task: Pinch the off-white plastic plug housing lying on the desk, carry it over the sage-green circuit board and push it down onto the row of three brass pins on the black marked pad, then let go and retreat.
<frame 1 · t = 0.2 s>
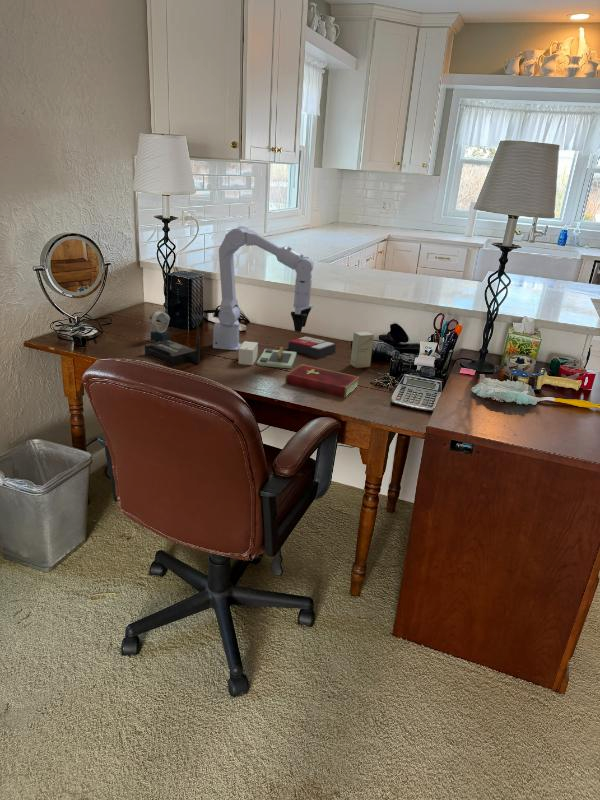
hand: (299, 329, 205), 10 cm above the table, tool pointing down, fingers open, 7 cm apart
calculator: (311, 352, 215), on the table
plug housing: (248, 360, 199), on the table
pcb board: (277, 359, 202), on the table
skincare box: (360, 366, 203), on the table
grey and black stand: (174, 360, 196), on the table
watch: (160, 340, 214), on the table
hardcover book: (321, 387, 182), on the table
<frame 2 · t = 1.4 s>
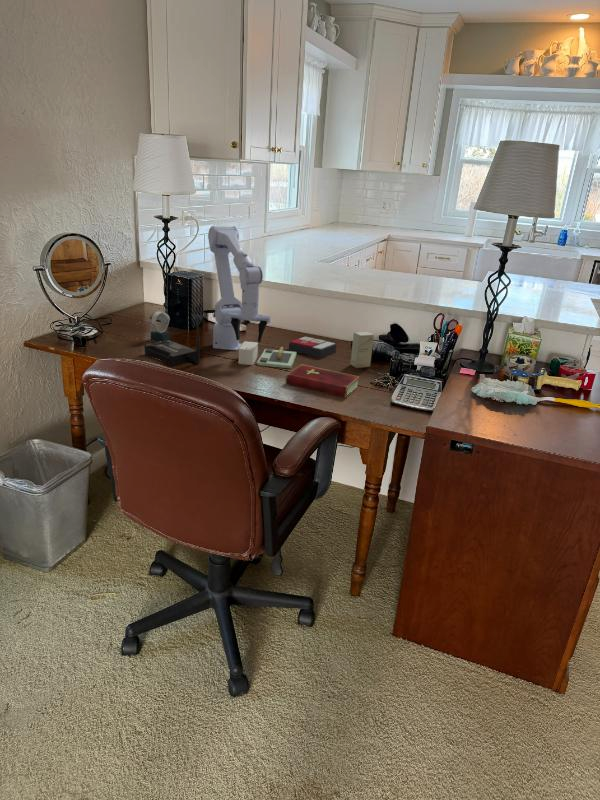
hand: (248, 340, 196), 7 cm above the table, tool pointing down, fingers open, 7 cm apart
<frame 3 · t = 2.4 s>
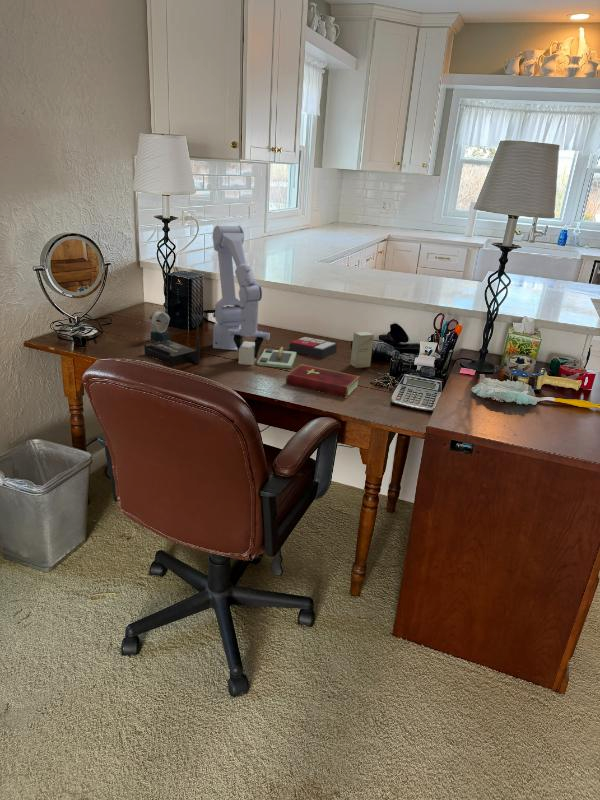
hand: (248, 356, 199), 1 cm above the table, tool pointing down, fingers closed on plug housing, 5 cm apart
plug housing: (248, 360, 199), on the table, touching gripper
everything else where it was.
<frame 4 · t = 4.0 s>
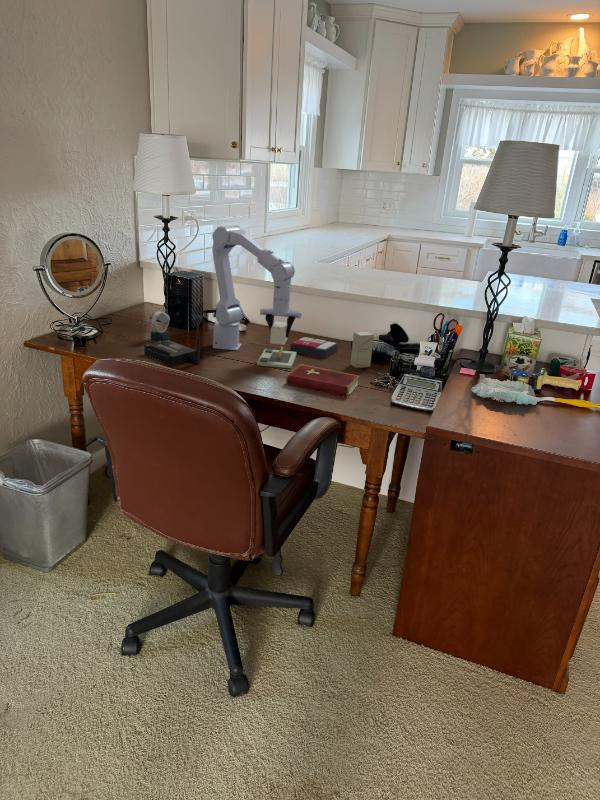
hand: (279, 336, 198), 9 cm above the table, tool pointing down, fingers closed on plug housing, 5 cm apart
plug housing: (279, 340, 199), point 7 cm above the table, touching gripper
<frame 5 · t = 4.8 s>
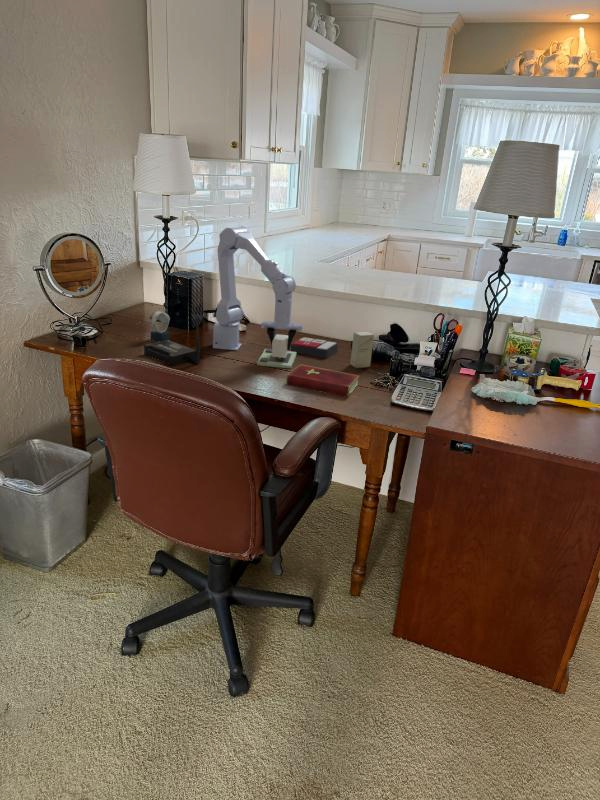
hand: (280, 348, 201), 4 cm above the table, tool pointing down, fingers closed on plug housing, 5 cm apart
plug housing: (280, 353, 201), point 3 cm above the table, touching gripper
when the fingers open (3 cm above the table, at t = 5.4 s): plug housing stays where it is, resting on pcb board.
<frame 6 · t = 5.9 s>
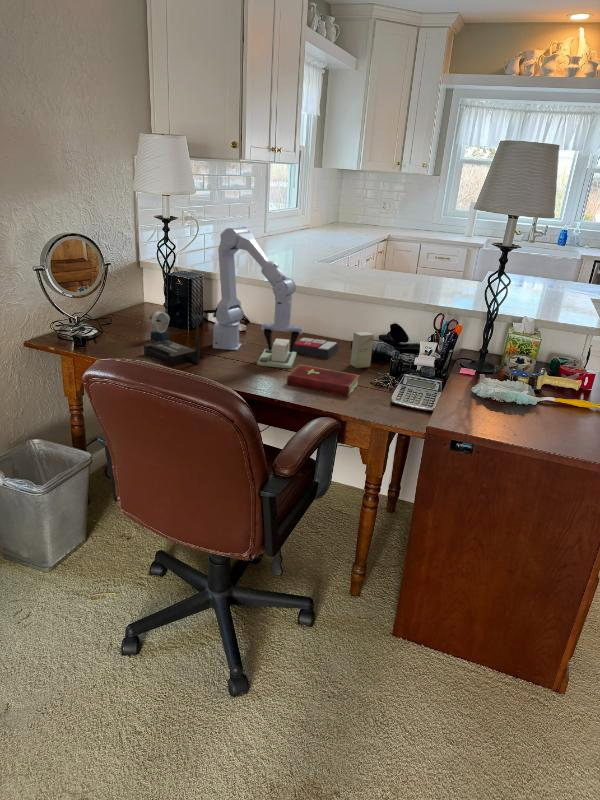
hand: (280, 350, 201), 4 cm above the table, tool pointing down, fingers open, 7 cm apart
plug housing: (280, 357, 202), point 1 cm above the table, touching pcb board
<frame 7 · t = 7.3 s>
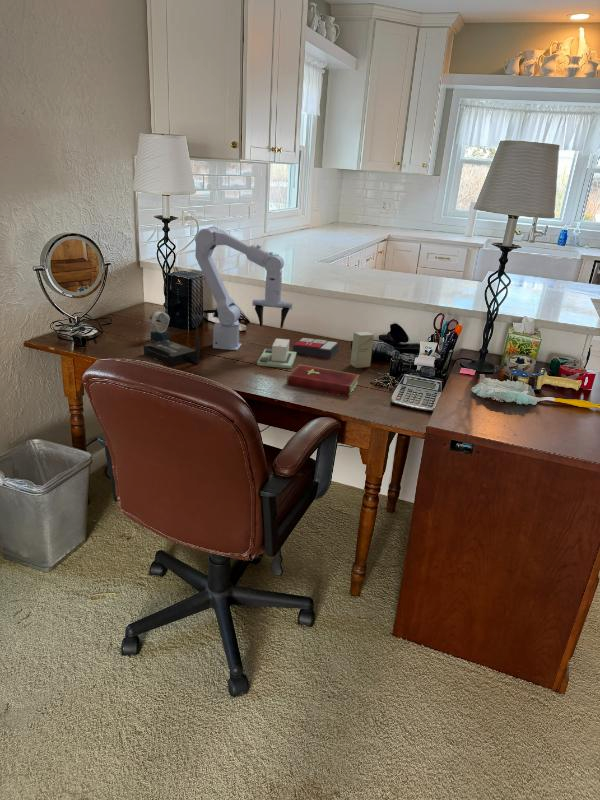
hand: (271, 326, 206), 10 cm above the table, tool pointing down, fingers open, 7 cm apart
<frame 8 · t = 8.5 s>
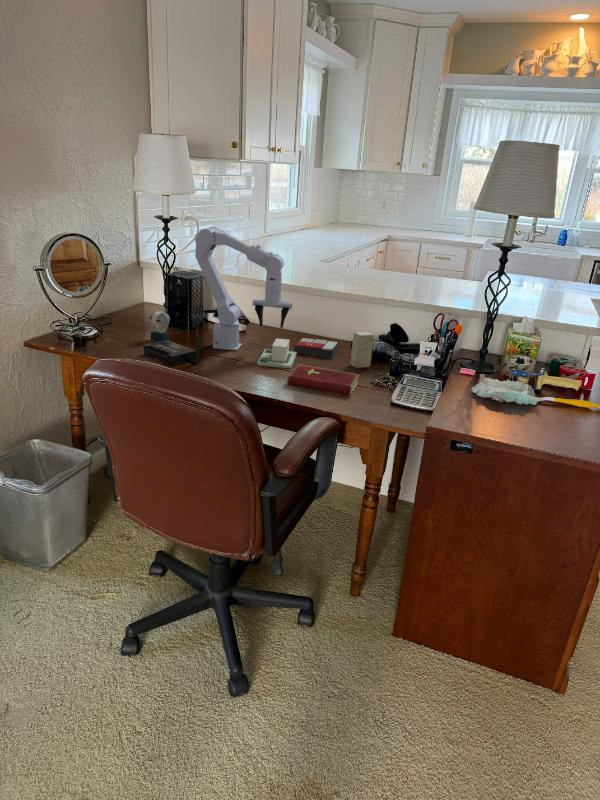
hand: (271, 326, 206), 10 cm above the table, tool pointing down, fingers open, 7 cm apart
at the end: plug housing 0.1 cm from the target spot on the pcb board, point 1.1 cm above the pcb board's base; plug housing tilted 0°; the gripper is holding nothing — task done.
